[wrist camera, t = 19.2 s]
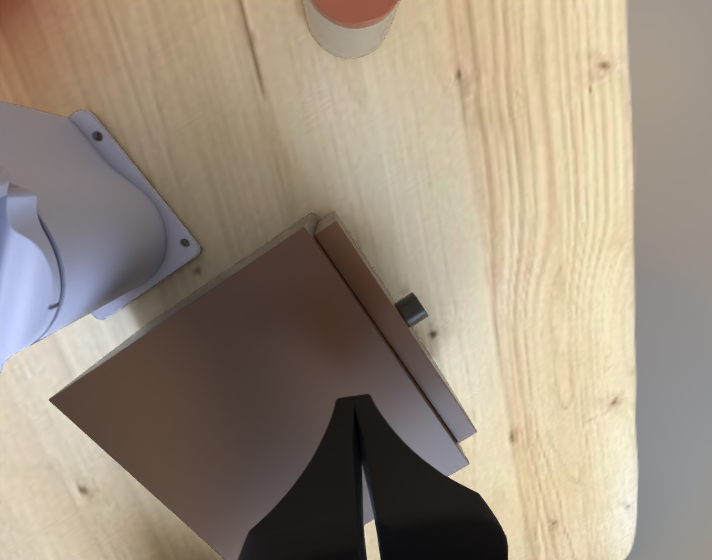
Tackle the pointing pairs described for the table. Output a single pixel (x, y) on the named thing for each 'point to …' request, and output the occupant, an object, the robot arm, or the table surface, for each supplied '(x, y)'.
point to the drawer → (393, 322)
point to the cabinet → (248, 389)
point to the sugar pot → (349, 24)
